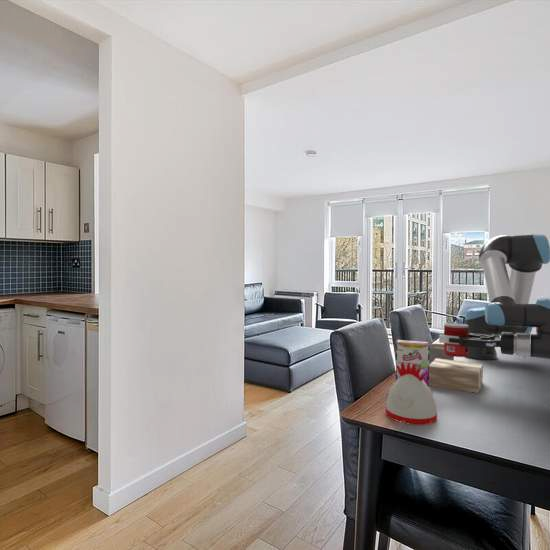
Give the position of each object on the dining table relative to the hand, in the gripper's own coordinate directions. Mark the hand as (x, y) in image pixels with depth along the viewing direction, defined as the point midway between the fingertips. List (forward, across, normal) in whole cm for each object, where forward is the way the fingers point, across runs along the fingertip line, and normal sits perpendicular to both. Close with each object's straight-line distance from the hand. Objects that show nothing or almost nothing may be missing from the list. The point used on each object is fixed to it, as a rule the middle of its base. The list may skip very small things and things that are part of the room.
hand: (441, 336), depth 138 cm
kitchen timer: (+1, -38, -17) cm, 42 cm away
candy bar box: (+7, -13, -17) cm, 23 cm away
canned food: (-5, 0, -6) cm, 8 cm away
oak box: (-5, 0, -17) cm, 17 cm away
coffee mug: (+5, +17, -17) cm, 24 cm away
